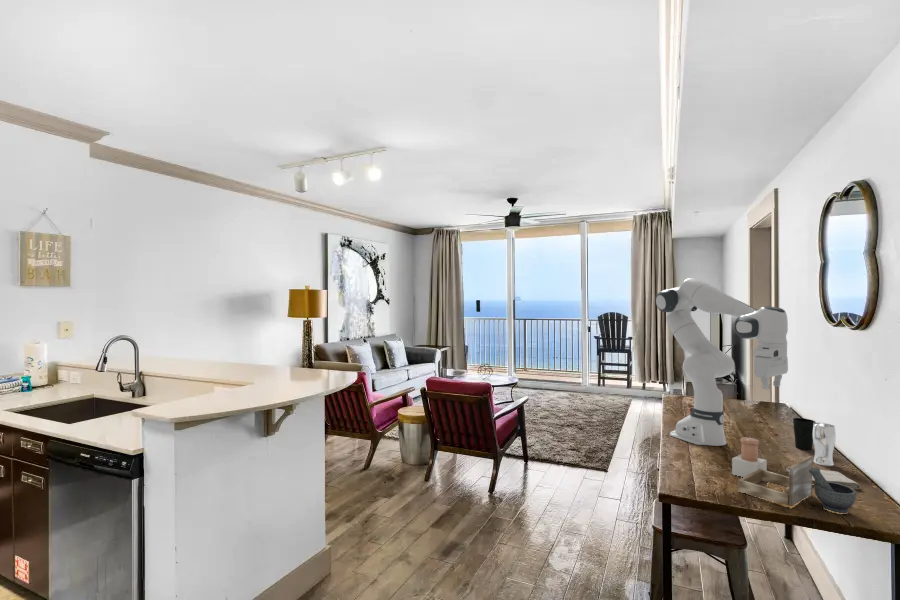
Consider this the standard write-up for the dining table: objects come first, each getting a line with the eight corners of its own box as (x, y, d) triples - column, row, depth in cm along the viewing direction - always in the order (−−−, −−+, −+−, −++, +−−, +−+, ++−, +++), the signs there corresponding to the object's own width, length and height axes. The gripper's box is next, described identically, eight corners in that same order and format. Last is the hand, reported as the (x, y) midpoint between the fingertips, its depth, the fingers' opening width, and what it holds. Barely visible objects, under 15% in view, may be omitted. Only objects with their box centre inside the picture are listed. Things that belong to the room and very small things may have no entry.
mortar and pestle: (852, 508, 141) (853, 469, 141) (859, 521, 133) (860, 479, 133) (806, 499, 147) (806, 462, 147) (810, 511, 139) (811, 471, 139)
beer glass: (826, 467, 174) (826, 427, 174) (807, 461, 181) (808, 423, 181) (839, 465, 176) (840, 426, 176) (820, 459, 183) (821, 421, 183)
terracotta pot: (737, 458, 167) (737, 438, 167) (744, 455, 170) (744, 436, 170) (754, 463, 162) (755, 443, 162) (761, 459, 165) (761, 440, 165)
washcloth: (783, 473, 170) (783, 464, 170) (839, 477, 166) (840, 469, 166) (799, 486, 159) (799, 477, 158) (861, 491, 155) (861, 482, 154)
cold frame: (737, 492, 152) (738, 453, 152) (759, 480, 162) (760, 443, 162) (791, 509, 140) (792, 467, 140) (811, 495, 150) (812, 456, 150)
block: (732, 474, 167) (732, 458, 167) (742, 469, 172) (742, 453, 172) (756, 481, 160) (757, 464, 160) (766, 476, 165) (766, 460, 165)
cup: (819, 452, 192) (819, 423, 192) (798, 450, 193) (798, 422, 193) (808, 446, 199) (809, 418, 199) (788, 444, 201) (789, 417, 201)
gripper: (774, 347, 180) (773, 383, 180) (750, 351, 168) (749, 389, 169) (793, 349, 175) (792, 385, 175) (770, 353, 163) (769, 392, 163)
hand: (771, 387), depth 172 cm, fingers open, 8 cm apart
